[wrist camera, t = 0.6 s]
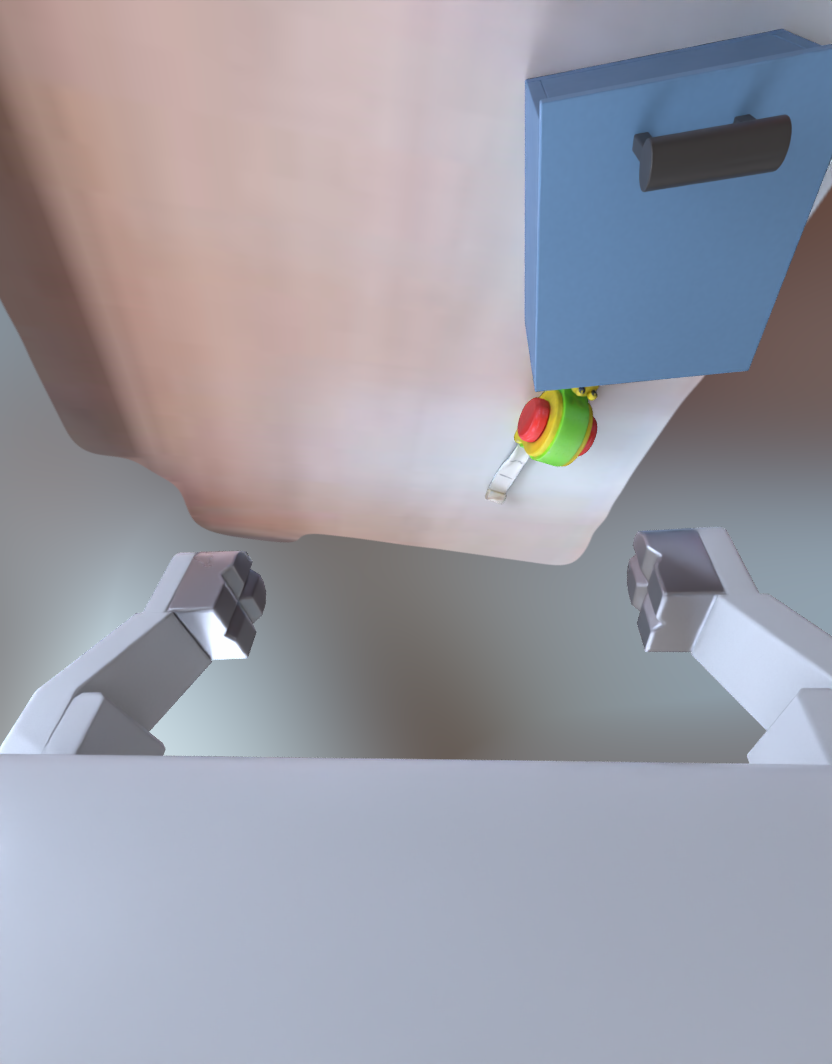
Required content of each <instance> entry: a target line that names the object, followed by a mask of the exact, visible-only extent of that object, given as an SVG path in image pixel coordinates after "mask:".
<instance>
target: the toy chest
mask: <svg viewBox="0 0 832 1064" xmlns="http://www.w3.org/2000/svg"><path fill="white" fill-rule="evenodd" d="M818 46H822V45H819V44H817V43H814V42H812V41H810V40H807V39H805V38H802V37H800V36H797V35H795V34H793V33H790V32H788V31H786V30H784V29H779V30H774V31H769V32H764V33H759V34H754V35H749V36H744V37H739V38H734V39H729V40H724V41H719V42H714V43H709V44H704V45H699V46H694V47H688V48H683V49H678V50H673V51H668V52H663V53H658V54H653V55H648V56H643V57H638V58H633V59H628V60H623V61H618V62H613V63H608V64H603V65H598V66H593V67H587V68H582V69H577V70H572V71H567V72H562V73H557V74H552V75H547V76H542V77H537V78H532V79H527V80H525V327H526V333H527V340H528V347H529V354H530V360H531V367H532V374H533V381H534V370H535V317H536V264H537V211H538V158H539V105H540V100H541V99H545V98H551V97H556V96H561V95H566V94H572V93H577V92H582V91H587V90H593V89H598V88H603V87H608V86H614V85H619V84H624V83H629V82H635V81H640V80H645V79H650V78H655V77H661V76H666V75H671V74H676V73H682V72H687V71H692V70H697V69H703V68H708V67H713V66H718V65H724V64H729V63H734V62H739V61H745V60H750V59H755V58H760V57H765V56H771V55H776V54H781V53H786V52H792V51H797V50H802V49H807V48H813V47H818Z"/></svg>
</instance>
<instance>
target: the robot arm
mask: <svg viewBox="0 0 832 1064" xmlns="http://www.w3.org/2000/svg"><path fill="white" fill-rule="evenodd" d="M633 546H634V550H635V553H636V555H635V556H633V557H632V558H631V559H630V560H629V564H628V570H627V586H628V592H629V597H630V600H631V604H632V605H633V606H634V607H635V608H637V609H638V610H639V611H640V614H639V617H638V621H637V625H638V628H639V632H640V635H641V639H642V642H643V645H644V649H645V651H646V652H692V653H691V654H692V655H693V657H694V658H696V660H698V661H699V663H700V664H701V665H702V666H703V667H704V668H705V669H706V670H707V671H708V672H709V673H710V674H711V675H712V676H713V677H714V678H715V679H716V680H717V681H718V682H719V683H720V684H721V685H722V686H723V687H724V688H725V689H726V690H727V691H728V692H729V693H730V694H731V695H732V696H733V697H734V698H735V699H736V700H737V701H738V702H739V703H740V704H741V705H742V706H743V707H744V708H745V709H746V710H747V711H748V712H749V713H750V714H751V715H752V716H753V717H754V718H755V719H756V720H757V721H758V722H759V723H760V724H761V725H762V726H763V727H764V728H765V729H766V730H767V731H766V732H765V733H764V735H763V736H762V737H761V738H760V740H759V741H758V742H757V743H756V745H755V746H754V747H753V748H752V750H751V751H750V752H749V753H748V755H747V758H748V760H749V763H750V764H738V763H737V764H735V763H734V764H733V763H731V764H730V763H664V762H589V761H519V760H517V761H516V760H512V761H511V760H446V759H443V760H442V759H372V758H371V759H370V758H300V757H298V758H297V757H295V758H294V757H223V756H163V755H164V752H165V747H164V745H163V743H162V742H161V741H159V740H158V739H157V738H156V737H155V736H153V735H152V734H151V733H150V732H149V731H150V730H151V729H152V728H153V727H154V725H155V724H156V723H157V722H158V721H159V720H160V719H161V718H162V717H163V716H164V715H165V714H166V712H167V711H168V710H169V709H170V708H171V707H172V706H173V705H174V704H175V702H176V701H177V700H178V699H179V698H180V697H181V696H182V695H183V693H184V692H185V691H186V690H187V689H188V688H189V687H190V686H191V685H192V684H193V682H194V681H195V680H196V679H197V678H198V677H199V676H200V674H202V672H203V671H204V670H205V669H206V668H207V667H208V666H209V665H210V664H211V662H212V661H211V660H216V659H217V660H218V659H240V658H248V656H249V653H250V650H251V647H252V644H253V641H254V638H255V635H256V630H255V628H254V625H253V623H254V622H255V621H256V620H257V619H259V618H260V617H261V616H262V614H263V611H264V608H265V604H266V589H265V585H264V581H263V579H262V578H261V576H260V575H259V574H258V573H256V572H255V571H253V570H251V569H250V568H251V565H252V562H253V561H252V560H251V558H250V557H249V555H248V553H247V552H244V551H221V552H220V551H218V552H190V553H178V554H177V555H175V556H174V557H173V558H172V559H171V561H170V563H169V565H168V567H167V568H166V570H165V572H164V574H163V576H162V578H161V580H160V582H159V583H158V585H157V587H156V589H155V591H154V593H153V594H152V596H151V598H150V600H149V602H148V604H147V606H146V607H145V609H144V611H143V613H136V614H135V615H133V616H132V617H131V618H129V619H128V620H127V621H125V622H124V623H123V624H121V625H120V626H119V627H118V628H116V629H115V630H114V631H112V632H111V633H110V634H109V635H108V636H106V637H105V638H103V639H102V640H101V641H99V642H98V643H97V644H96V645H94V646H93V647H92V648H90V649H89V650H88V651H87V652H85V653H84V654H83V655H82V656H80V657H79V658H78V659H77V660H75V661H74V662H72V663H71V664H70V665H69V666H67V667H66V668H65V669H63V670H62V671H61V672H60V673H58V674H57V675H56V676H54V677H53V678H52V679H50V680H49V681H48V682H47V683H45V684H44V685H43V686H41V687H40V688H39V689H37V690H36V691H35V693H34V694H33V696H32V698H31V699H30V701H29V702H28V704H27V706H26V707H25V709H24V710H23V712H22V713H21V715H20V717H19V718H18V720H17V721H16V723H15V724H14V726H13V728H12V729H11V731H10V732H9V734H8V735H7V737H6V739H5V740H4V742H3V743H2V745H1V747H0V1064H832V636H831V635H829V634H828V633H826V632H825V631H823V630H822V629H820V628H819V627H817V626H816V625H814V624H813V623H811V622H810V621H808V620H807V619H805V618H804V617H803V616H801V615H800V614H798V613H796V612H795V611H793V610H792V609H790V608H789V607H788V606H786V605H785V604H783V603H782V602H780V601H779V600H777V599H776V598H774V597H773V596H771V595H770V594H760V593H759V591H758V590H757V588H756V586H755V584H754V582H753V580H752V578H751V576H750V574H749V572H748V570H747V569H746V567H745V565H744V563H743V561H742V559H741V557H740V555H739V553H738V552H737V549H736V547H735V545H734V543H733V542H732V540H731V538H730V536H729V534H728V532H727V530H726V529H724V528H723V527H721V526H720V527H701V528H692V529H691V528H681V529H664V530H649V531H648V530H647V531H638V532H637V534H636V535H635V538H634V542H633Z"/></svg>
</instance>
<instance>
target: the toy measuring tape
mask: <svg viewBox="0 0 832 1064" xmlns="http://www.w3.org/2000/svg"><path fill="white" fill-rule="evenodd" d="M598 387H599V386H589V387H579V388H569V389H559V390H549V391H545V392H544V393H543V394H542V395H541V396H540V397H539V398H533V399H531V400H530V401H529V402H528V403H527V404H526V405H525V407H524V409H523V411H522V413H521V415H520V418H519V422H518V430H517V431H516V433H515V435H514V440H515V442H516V443H518V445H517V446H516V448H515V450H514V451H513V453H512V454H511V455H510V457H509V458H508V459H507V460H506V461H505V463H503V464H502V466H501V467H500V469H499V470H498V471H497V474H496V475H495V477H494V479H493V480H492V482H491V484H490V487H489V489H487V492H486V495H485V499H486V500H490V501H493V502H496V503H499V504H503V503H504V501H505V499H506V495H505V494H506V492H507V490H508V488H509V487H510V486H511V485H512V483H513V482H514V480H515V478H516V477H517V475H518V473H519V472H520V470H521V469H522V468H523V466H524V465H525V463H526V462H527V460H528V459H529V457H530V458H531V459H533V460H535V461H539V462H543V463H546V464H550V465H553V466H567V465H569V464H571V463H572V462H573V461H574V460H575V459H576V458H577V457H578V456H581V455H583V454H584V453H586V452H587V451H588V450H589V449H590V447H591V446H592V444H593V442H594V440H595V437H596V433H597V422H596V420H595V418H594V417H593V411H592V407H591V405H590V404H589V403H588V399H589V400H591V401H592V400H595V399H596V398H597V393H596V390H597V389H598Z"/></svg>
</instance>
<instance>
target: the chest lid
mask: <svg viewBox="0 0 832 1064" xmlns="http://www.w3.org/2000/svg"><path fill="white" fill-rule="evenodd" d="M831 158H832V44H828V45H823V46H818V47H813V48H807V49H802V50H797V51H792V52H786V53H781V54H776V55H771V56H765V57H760V58H755V59H750V60H745V61H739V62H734V63H729V64H724V65H718V66H713V67H708V68H703V69H697V70H692V71H687V72H682V73H676V74H671V75H666V76H661V77H655V78H650V79H645V80H640V81H635V82H629V83H624V84H619V85H614V86H608V87H603V88H598V89H593V90H587V91H582V92H577V93H572V94H566V95H561V96H556V97H551V98H545V99H541V100H540V105H539V158H538V211H537V264H536V317H535V370H534V387H535V392H539V391H549V390H559V389H569V388H579V387H589V386H599V385H609V384H619V383H629V382H640V381H650V380H660V379H670V378H680V377H690V376H700V375H709V374H719V373H729V372H740V371H748V370H749V368H750V365H751V363H752V360H753V357H754V355H755V352H756V350H757V347H758V345H759V342H760V339H761V337H762V334H763V332H764V329H765V327H766V324H767V322H768V319H769V316H770V314H771V311H772V309H773V306H774V304H775V301H776V298H777V296H778V293H779V291H780V288H781V286H782V283H783V281H784V278H785V276H786V273H787V270H788V268H789V265H790V263H791V260H792V257H793V255H794V253H795V250H796V247H797V245H798V242H799V240H800V237H801V235H802V232H803V230H804V227H805V224H806V222H807V219H808V217H809V214H810V212H811V209H812V207H813V204H814V201H815V199H816V196H817V194H818V191H819V189H820V186H821V184H822V181H823V178H824V176H825V173H826V171H827V168H828V166H829V163H830V160H831Z"/></svg>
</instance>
